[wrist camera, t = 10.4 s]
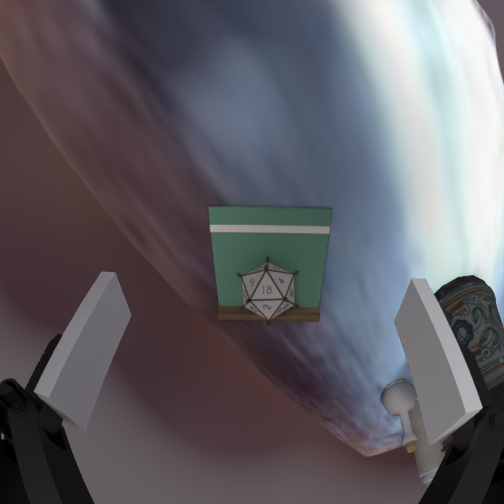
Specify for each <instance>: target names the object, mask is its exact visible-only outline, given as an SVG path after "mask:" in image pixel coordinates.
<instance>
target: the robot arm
mask: <svg viewBox="0 0 504 504" xmlns="http://www.w3.org/2000/svg"><path fill="white" fill-rule="evenodd" d="M130 317H131V313H130V311H129V308H128V306H127V303H126V301H125V298H124V295H123V293H122V290H121V287H120V284H119V282H118V279H117V276H116V273H113V272H101V274H100V275H99V277H98V278H97V280H96V281H95V283H94V284H93V286H92V287H91V289H90V291H89V292H88V294H87V295H86V297H85V299H84V300H83V302H82V303H81V305H80V307H79V308H78V310H77V312H76V314H75V315H74V317H73V318H72V320H71V322H70V324H69V325H68V327H67V329H66V330H65V332H64V334H63V335H61V334H58V335H56V336H55V337H54V338H53V339H52V340H51V341H50V342H49V344H48V346H47V348H46V350H45V351H44V354H43V355H42V357H41V359H40V361H39V362H38V364H37V366H36V368H35V370H34V372H33V374H32V376H31V378H30V380H29V382H28V384H27V386H26V388H25V389H23V388H22V387H21V386H20V385H19V384H18V382H16V380H15V379H11V378H9V379H6V380H4V381H2V382H1V383H0V504H94V502H93V500H92V498H91V496H90V494H89V491H88V489H87V487H86V485H85V482H84V480H83V478H82V475H81V473H80V471H79V468H78V466H77V463H76V461H75V459H74V456H73V453H72V450H71V448H70V445H69V442H68V439H67V436H66V433H65V430H64V428H63V426H62V425H61V424H62V421H63V420H64V421H65V422H66V423H68V424H69V425H70V426H72V427H75V428H77V429H80V430H83V431H85V429H86V426H87V423H88V421H89V418H90V415H91V412H92V409H93V406H94V404H95V401H96V398H97V396H98V393H99V391H100V388H101V385H102V383H103V380H104V378H105V375H106V373H107V370H108V368H109V365H110V363H111V361H112V358H113V356H114V353H115V351H116V349H117V346H118V344H119V342H120V339H121V337H122V335H123V333H124V330H125V328H126V326H127V324H128V321H129V319H130ZM394 323H395V326H396V329H397V332H398V335H399V338H400V341H401V344H402V347H403V350H404V353H405V356H406V359H407V362H408V366H409V369H410V372H411V376H412V379H413V383H414V386H415V390H416V394H417V397H418V401H419V405H420V409H421V413H422V417H423V421H424V426H425V430H426V434H427V439H428V444H433V443H437V442H440V441H444V440H445V439H447V438H448V437H449V436H451V435H452V436H453V440H452V441H451V442H450V443H448V444H447V445H446V446H444V447H443V448H442V450H441V452H443V451H445V450H446V449H447V448H448V449H447V451H446V453H445V456H444V458H443V460H442V462H441V464H440V466H439V468H438V470H437V472H436V474H435V476H434V477H433V479H432V481H431V483H430V485H429V486H428V488H427V490H426V492H425V493H424V495H423V497H422V499H421V500H420V502H419V503H418V504H504V411H503V410H502V409H500V408H496V407H495V406H494V404H493V402H492V399H491V396H490V393H489V391H488V388H487V385H486V383H485V380H484V378H483V375H481V370H480V368H479V366H478V363H477V361H476V359H475V356H474V354H473V353H472V351H471V350H470V349H469V348H468V347H467V346H466V345H460V346H459V345H458V343H457V341H456V339H455V336H454V334H453V332H452V330H451V328H450V326H449V324H448V321H447V319H446V317H445V315H444V313H443V311H442V309H441V307H440V305H439V303H438V301H437V299H436V298H435V296H434V294H433V292H432V290H431V288H430V286H429V284H428V283H427V281H426V279H411V281H410V284H409V286H408V289H407V292H406V294H405V297H404V299H403V302H402V304H401V307H400V309H399V312H398V314H397V316H396V319H395V321H394ZM1 433H3V434H4V440H2V439H1Z"/></svg>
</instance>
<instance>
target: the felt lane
mask: <svg viewBox="0 0 504 504" xmlns="http://www.w3.org/2000/svg"><path fill="white" fill-rule="evenodd" d="M208 209H209V219H210V232H211V239H212V249H213V258H214V267H215V276H216V284H217V293H218V301H219V305H221V306H241V305H243V297H242V284H241V277H238V276H237V275H236V273H241V275H243V274H245V273H247V272H249V271H251V270H253V269H254V268H256V267H258V266H260V265H262V264H264V263H265V262H267V261H266V258H267V256H268V257H269V258H270V259H269V262H270V263H273V264H275V265H277V266H279V267H281V268H283V269H285V270H287V271H289V272H291V273H294V271H298V270H300V271H299V273H298V274H297V275H294V283H295V304H299V306H300V307H319V302H320V296H321V289H322V283H323V276H324V269H325V262H326V254H327V247H328V239H329V233H330V222H331V212H332V209H331V208H310V207H251V206H220V207H209V208H208ZM292 307H295V306H292Z"/></svg>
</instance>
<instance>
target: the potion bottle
mask: <svg viewBox="0 0 504 504" xmlns="http://www.w3.org/2000/svg"><path fill="white" fill-rule="evenodd" d="M416 399H417V394H416V390H415V387H414V385H413V384H410V381H408V380H406V379H402V380H396V381H394V382H392V383H390V384H389V385H387V386H386V388H385V389H384V394H383V395H382V404H383V406H384V407H385V409H386V410H387V412H388V413H390V414H391V415H392V416H400V420H401V424H402V429H403V434H404V436H403V438H402V445H403V446H405V448H406V450H407V452H413V451H415V450H416V444H415V442H417V440H418V438H417V436H416V434H414V433H413V431H412V426H411V422H410V418H409V414H408V412H410V411H411V410H413V409H414V406H415V403H416Z"/></svg>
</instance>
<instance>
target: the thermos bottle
mask: <svg viewBox="0 0 504 504" xmlns="http://www.w3.org/2000/svg"><path fill="white" fill-rule="evenodd" d="M408 414H409V418H410V422H411V426H412V431H413V433H414V434H416V436H417V438H418V440H417V442H415V444H416V450H415V451H414V452H415V457H416V462H417V468H418V474H419V477H422V482H423V483H425V484H426V486H427V488H428V486H429V485H430V483H431V481H432V479H433V477H434V476H435V474H436V472H437V470H438V468H439V466H440V464H441V462H442V460H443V458H444V456H445V453H444V451H443V452H441V450H442V448H443V445H442V441H440V442H437V443H433V444H428V439H427V434H426V430H425V426H424V421H423V417H422V413H421V409H420V405H419V401H418V400H417V401H416V403H415V406H414V409H413V410H411V411H410V412H408Z"/></svg>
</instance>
